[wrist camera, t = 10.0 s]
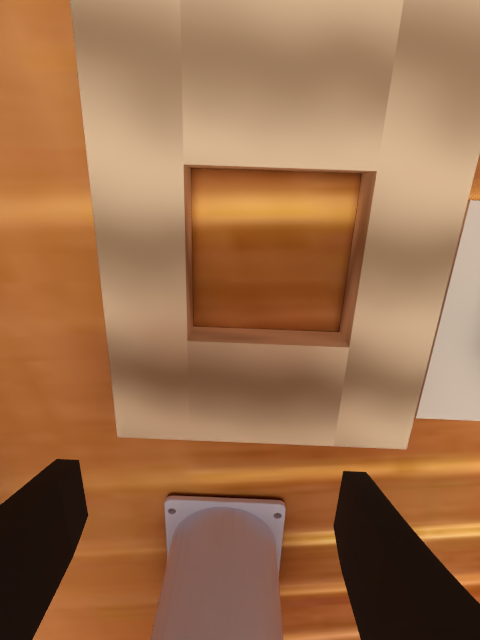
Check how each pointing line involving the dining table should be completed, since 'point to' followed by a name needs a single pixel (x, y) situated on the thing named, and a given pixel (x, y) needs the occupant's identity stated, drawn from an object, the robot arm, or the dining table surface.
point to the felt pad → (457, 335)
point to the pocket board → (279, 155)
